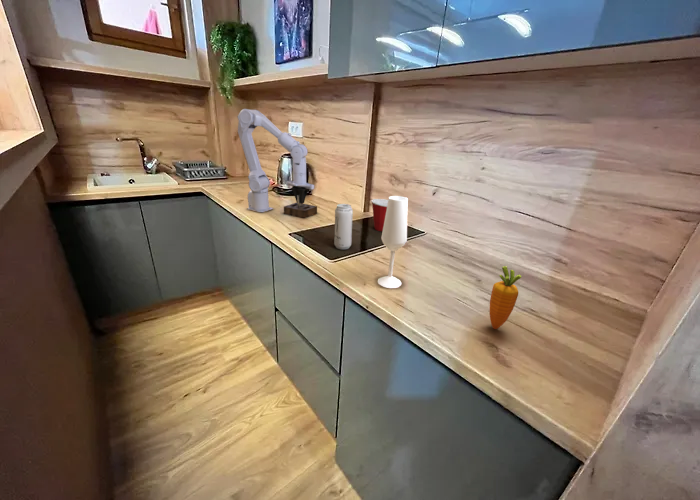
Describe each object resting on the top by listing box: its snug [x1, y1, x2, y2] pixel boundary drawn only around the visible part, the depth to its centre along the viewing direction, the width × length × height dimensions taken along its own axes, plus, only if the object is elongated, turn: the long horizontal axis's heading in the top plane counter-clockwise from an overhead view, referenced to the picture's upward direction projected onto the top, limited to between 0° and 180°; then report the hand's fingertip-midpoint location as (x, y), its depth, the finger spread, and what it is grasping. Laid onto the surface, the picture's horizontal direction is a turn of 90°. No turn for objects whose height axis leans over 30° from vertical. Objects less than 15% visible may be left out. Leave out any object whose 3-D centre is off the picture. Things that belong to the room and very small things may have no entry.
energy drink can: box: [333, 203, 354, 250], centre depth 105 cm, size 6×6×15 cm
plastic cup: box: [370, 198, 388, 232], centre depth 125 cm, size 11×11×12 cm
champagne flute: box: [377, 195, 409, 289], centre depth 81 cm, size 7×7×24 cm
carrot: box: [489, 265, 522, 330], centre depth 65 cm, size 5×5×15 cm
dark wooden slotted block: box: [283, 202, 318, 219], centre depth 143 cm, size 12×10×4 cm
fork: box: [296, 195, 304, 208], centre depth 141 cm, size 1×4×9 cm, turn 151°
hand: (300, 202), depth 141 cm, fingers closed
